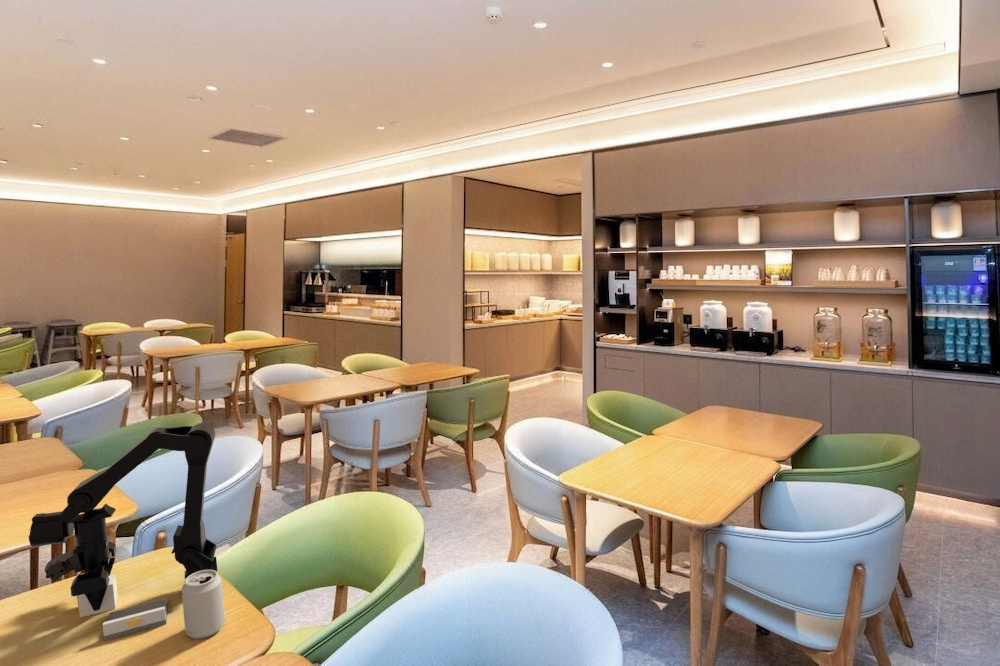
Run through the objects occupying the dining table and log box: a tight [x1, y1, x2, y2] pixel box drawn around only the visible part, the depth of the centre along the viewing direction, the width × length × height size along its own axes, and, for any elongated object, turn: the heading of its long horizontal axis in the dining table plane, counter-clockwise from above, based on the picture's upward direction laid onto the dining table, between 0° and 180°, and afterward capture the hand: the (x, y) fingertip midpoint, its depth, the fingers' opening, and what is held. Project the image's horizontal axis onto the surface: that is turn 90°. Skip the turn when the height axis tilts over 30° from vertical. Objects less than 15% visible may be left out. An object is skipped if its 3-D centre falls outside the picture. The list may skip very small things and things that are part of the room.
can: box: [181, 570, 226, 640], centre depth 119 cm, size 8×8×12 cm
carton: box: [76, 574, 119, 618], centre depth 128 cm, size 7×4×6 cm
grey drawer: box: [102, 598, 168, 642], centre depth 123 cm, size 11×9×4 cm
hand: (98, 602), depth 128 cm, fingers open, 6 cm apart
